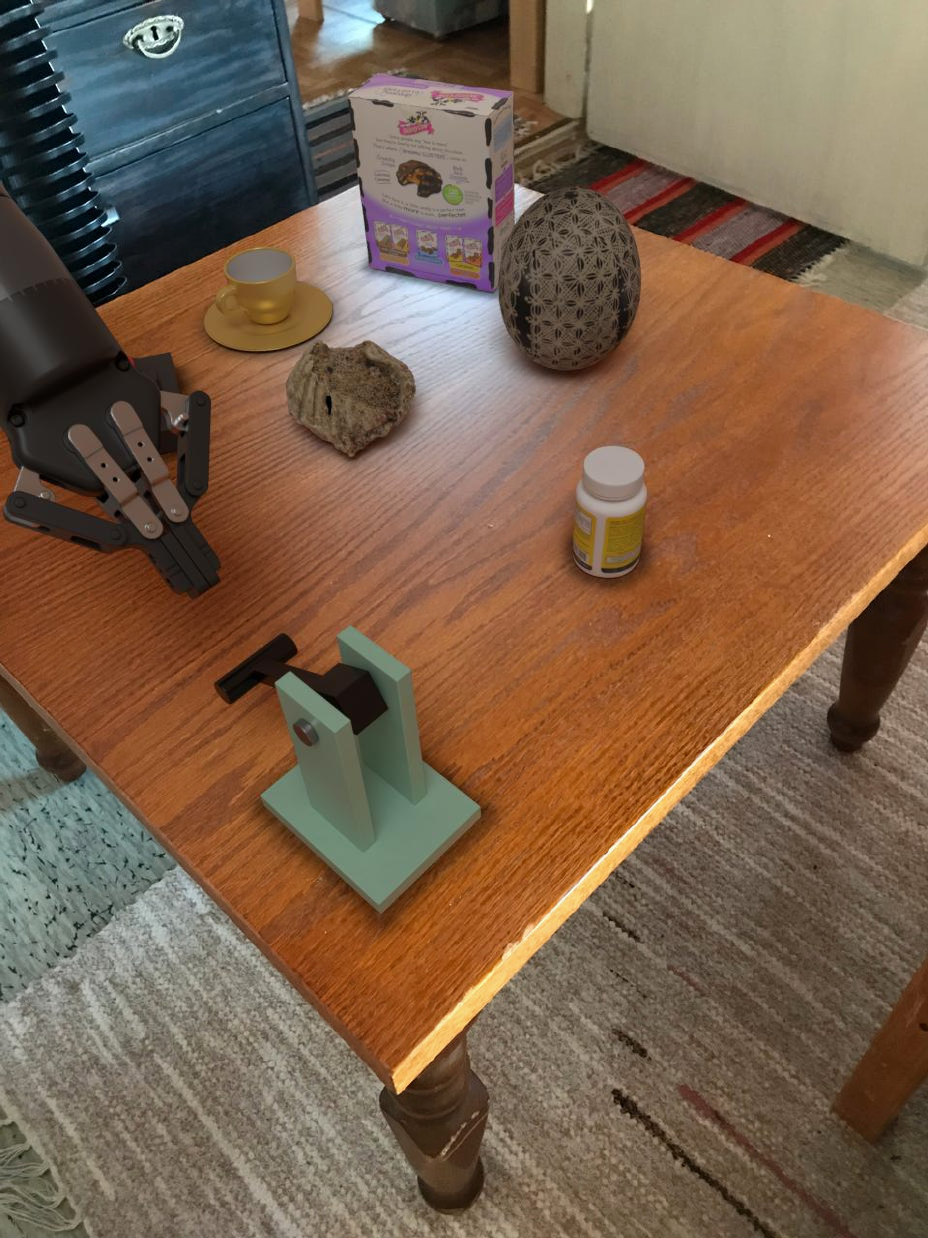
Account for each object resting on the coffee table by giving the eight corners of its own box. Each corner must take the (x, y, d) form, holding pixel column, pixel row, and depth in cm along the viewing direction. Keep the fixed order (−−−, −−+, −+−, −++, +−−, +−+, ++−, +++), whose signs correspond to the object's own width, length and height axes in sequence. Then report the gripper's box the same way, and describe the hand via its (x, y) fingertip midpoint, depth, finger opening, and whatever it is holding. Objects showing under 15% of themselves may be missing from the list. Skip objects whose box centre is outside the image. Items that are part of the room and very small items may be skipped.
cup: (280, 271, 98) (270, 218, 94) (359, 315, 92) (352, 261, 88) (179, 321, 93) (164, 267, 88) (257, 371, 87) (244, 316, 83)
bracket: (263, 806, 58) (213, 670, 48) (363, 722, 61) (335, 581, 52) (380, 915, 53) (351, 789, 43) (481, 817, 57) (475, 681, 47)
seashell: (334, 495, 80) (441, 436, 78) (285, 444, 74) (399, 379, 72) (311, 404, 86) (409, 347, 84) (265, 351, 81) (369, 289, 78)
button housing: (191, 447, 80) (179, 407, 77) (78, 471, 78) (61, 431, 75) (176, 372, 87) (164, 333, 84) (73, 394, 85) (56, 354, 82)
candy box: (517, 266, 97) (517, 88, 84) (492, 295, 93) (489, 115, 81) (393, 240, 101) (377, 67, 89) (366, 268, 98) (344, 92, 85)
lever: (226, 708, 57) (205, 675, 56) (292, 657, 59) (274, 625, 58) (335, 754, 47) (312, 715, 46) (409, 691, 49) (389, 653, 48)
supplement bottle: (647, 543, 71) (660, 451, 64) (627, 587, 68) (639, 496, 62) (584, 526, 72) (591, 434, 66) (562, 569, 69) (567, 477, 63)
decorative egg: (660, 356, 86) (683, 187, 75) (572, 418, 81) (581, 245, 69) (560, 308, 92) (566, 143, 80) (471, 362, 86) (465, 194, 75)
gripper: (-114, 343, 45) (118, 653, 48) (131, 233, 51) (321, 515, 54) (-112, 395, 51) (92, 665, 54) (106, 291, 57) (277, 540, 61)
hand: (206, 590), depth 54 cm, fingers closed
